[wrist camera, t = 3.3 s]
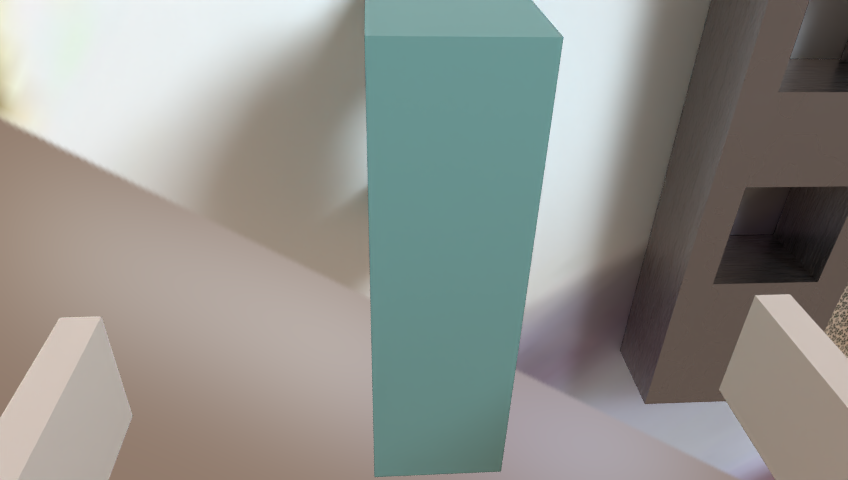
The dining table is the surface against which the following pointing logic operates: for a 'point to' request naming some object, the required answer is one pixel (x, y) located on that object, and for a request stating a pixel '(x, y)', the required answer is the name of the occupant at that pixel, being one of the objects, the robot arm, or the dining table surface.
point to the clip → (452, 220)
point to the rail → (722, 193)
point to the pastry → (839, 324)
